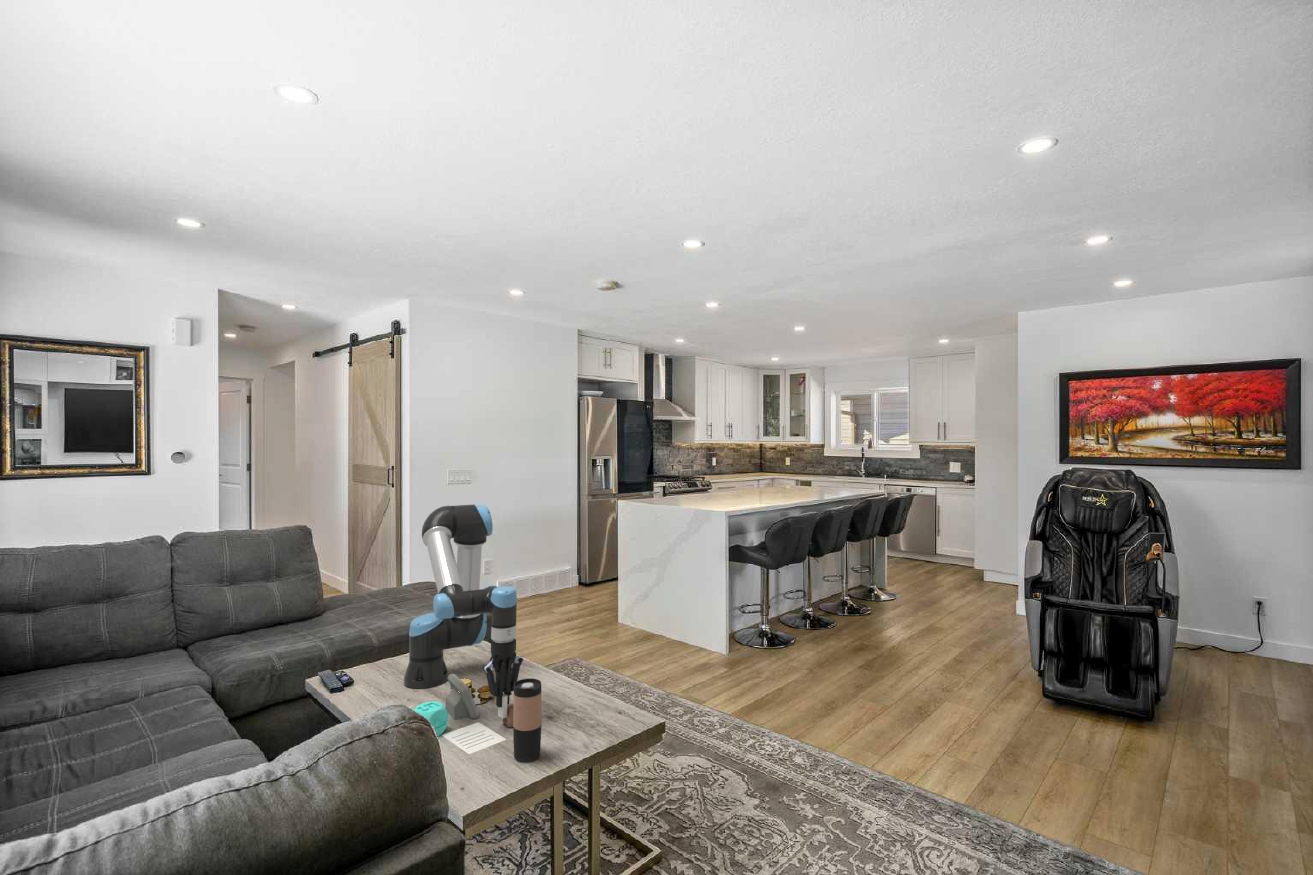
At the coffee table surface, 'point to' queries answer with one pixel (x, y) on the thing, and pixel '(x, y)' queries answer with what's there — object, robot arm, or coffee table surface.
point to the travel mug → (527, 720)
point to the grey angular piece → (460, 700)
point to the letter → (473, 737)
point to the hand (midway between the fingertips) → (502, 716)
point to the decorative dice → (434, 715)
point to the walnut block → (509, 716)
